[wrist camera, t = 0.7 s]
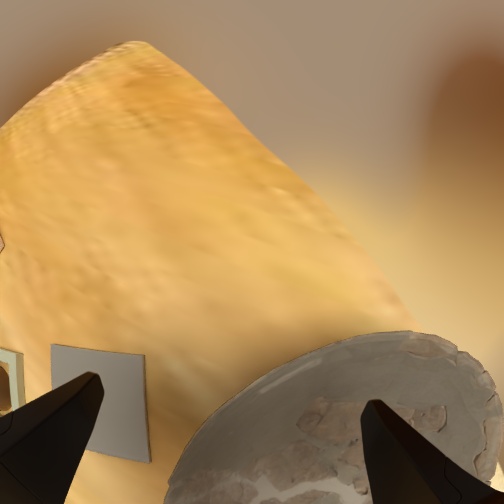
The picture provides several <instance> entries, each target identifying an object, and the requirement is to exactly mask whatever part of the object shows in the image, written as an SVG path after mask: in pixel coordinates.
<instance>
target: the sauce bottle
mask: <svg viewBox="0 0 504 504" xmlns="http://www.w3.org/2000/svg"><path fill="white" fill-rule="evenodd" d="M11 406H12V404H11V395H10V382H9V377H8V375H7V373H6V371H5V370H4V369H3V368H2V367H1V366H0V411H5V410H8V409H10V408H11Z"/></svg>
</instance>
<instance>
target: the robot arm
mask: <svg viewBox="0 0 504 504" xmlns="http://www.w3.org/2000/svg"><path fill="white" fill-rule="evenodd" d="M104 394H105V392H104V387H103V384H102V381H101V378H100V375H99V374H97V373H94V372H91V371H87V372H85V373H83V374H81V375H80V376H78V377H76V378H74V379H72V380H70V381H69V382H67V383H65V384H63V385H61V386H59V387H57V388H56V389H54V390H52V391H50V392H48V393H46V394H44V395H42V396H41V397H39V398H37V399H35V400H33V401H31V402H29V403H27V404H25V405H23V406H21V407H20V408H18V409H16V410H14V411H12V412H10V413H8V414H6V415H4V416H2V417H0V504H64V502H65V499H66V496H67V494H68V491H69V488H70V486H71V483H72V480H73V478H74V475H75V473H76V470H77V468H78V465H79V463H80V460H81V458H82V456H83V453H84V451H85V448H86V446H87V444H88V441H89V439H90V437H91V435H92V432H93V430H94V427H95V424H96V420H97V417H98V414H99V411H100V407H101V404H102V401H103V398H104ZM360 424H361V433H362V443H363V454H364V461H365V466H366V471H367V475H368V480H369V485H370V490H371V496H372V501H373V504H504V492H500V491H498V490H495V489H494V488H492V487H490V486H489V485H487V484H485V483H484V482H482V481H480V480H479V479H477V478H476V477H474V476H473V475H471V474H470V473H468V472H467V471H465V470H464V469H462V468H461V467H460V466H458V465H457V464H456V463H455V462H453V461H452V460H451V459H450V458H449V457H447V456H446V455H445V454H444V453H442V452H441V451H440V450H439V449H438V448H437V447H435V446H434V445H433V444H432V443H431V442H429V441H428V440H427V439H426V438H425V437H424V436H422V435H421V434H420V433H419V432H418V431H417V430H415V429H414V428H413V427H412V426H411V425H410V424H408V423H407V422H406V421H405V420H404V419H403V418H402V417H400V416H399V415H398V414H397V413H396V412H395V411H394V410H392V409H391V408H390V407H389V406H388V405H387V404H386V403H384V402H383V401H382V400H381V399H371V400H369V401H368V402H367V404H366V406H365V408H364V410H363V412H362V414H361V417H360Z"/></svg>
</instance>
